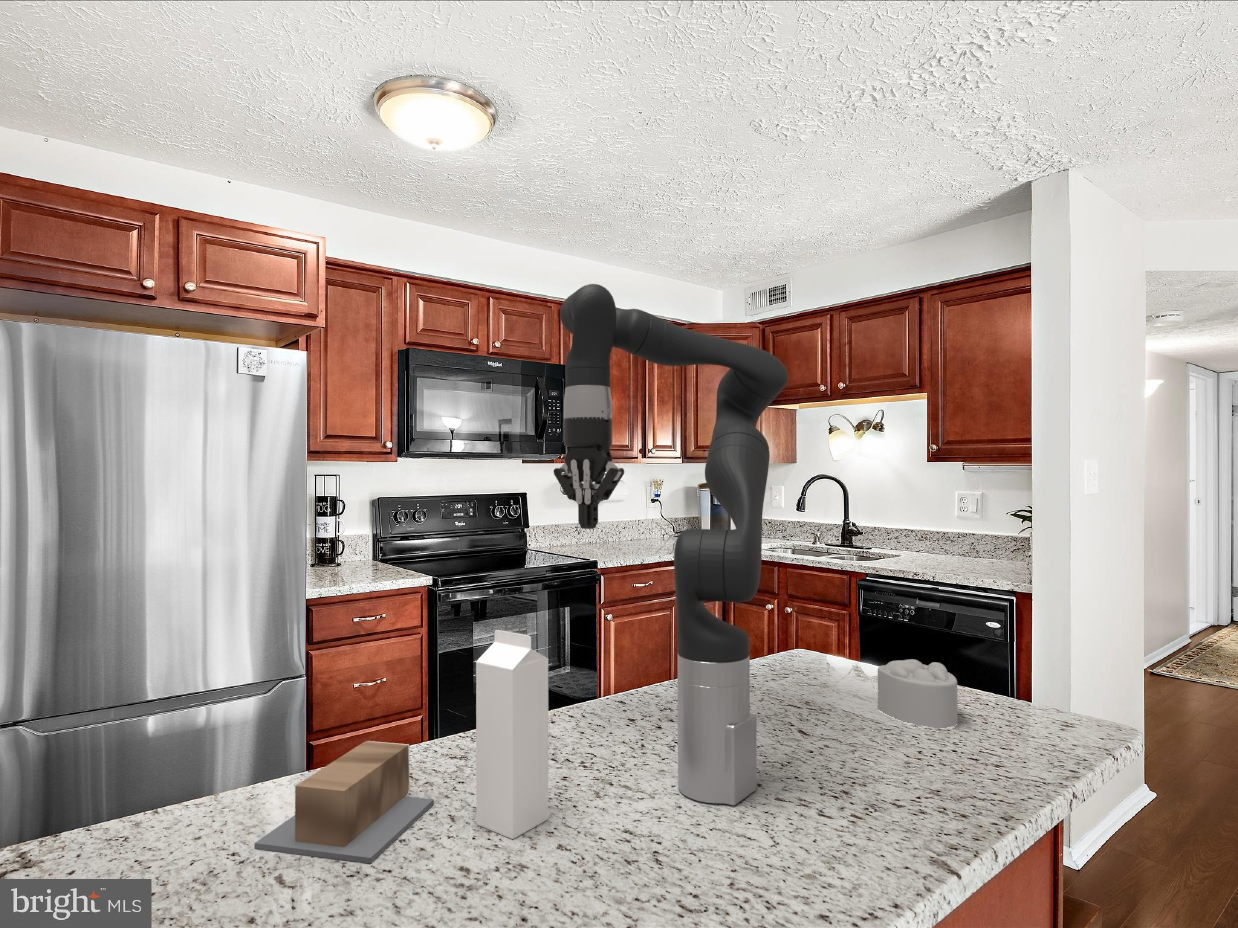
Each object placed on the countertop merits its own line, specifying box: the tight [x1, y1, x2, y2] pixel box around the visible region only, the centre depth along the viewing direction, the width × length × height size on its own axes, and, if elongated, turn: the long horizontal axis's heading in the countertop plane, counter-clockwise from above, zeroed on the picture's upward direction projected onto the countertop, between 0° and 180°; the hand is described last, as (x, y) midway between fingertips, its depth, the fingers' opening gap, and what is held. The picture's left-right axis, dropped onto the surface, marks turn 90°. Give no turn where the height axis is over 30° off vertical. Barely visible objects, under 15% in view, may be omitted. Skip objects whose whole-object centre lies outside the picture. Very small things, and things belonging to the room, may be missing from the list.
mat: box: [253, 795, 435, 864], centre depth 84 cm, size 14×14×1 cm
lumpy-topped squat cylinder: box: [877, 658, 959, 728], centre depth 121 cm, size 10×13×9 cm
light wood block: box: [294, 740, 410, 847], centre depth 86 cm, size 6×6×14 cm
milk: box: [475, 629, 549, 840], centre depth 85 cm, size 6×6×22 cm
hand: (588, 528), depth 113 cm, fingers closed
